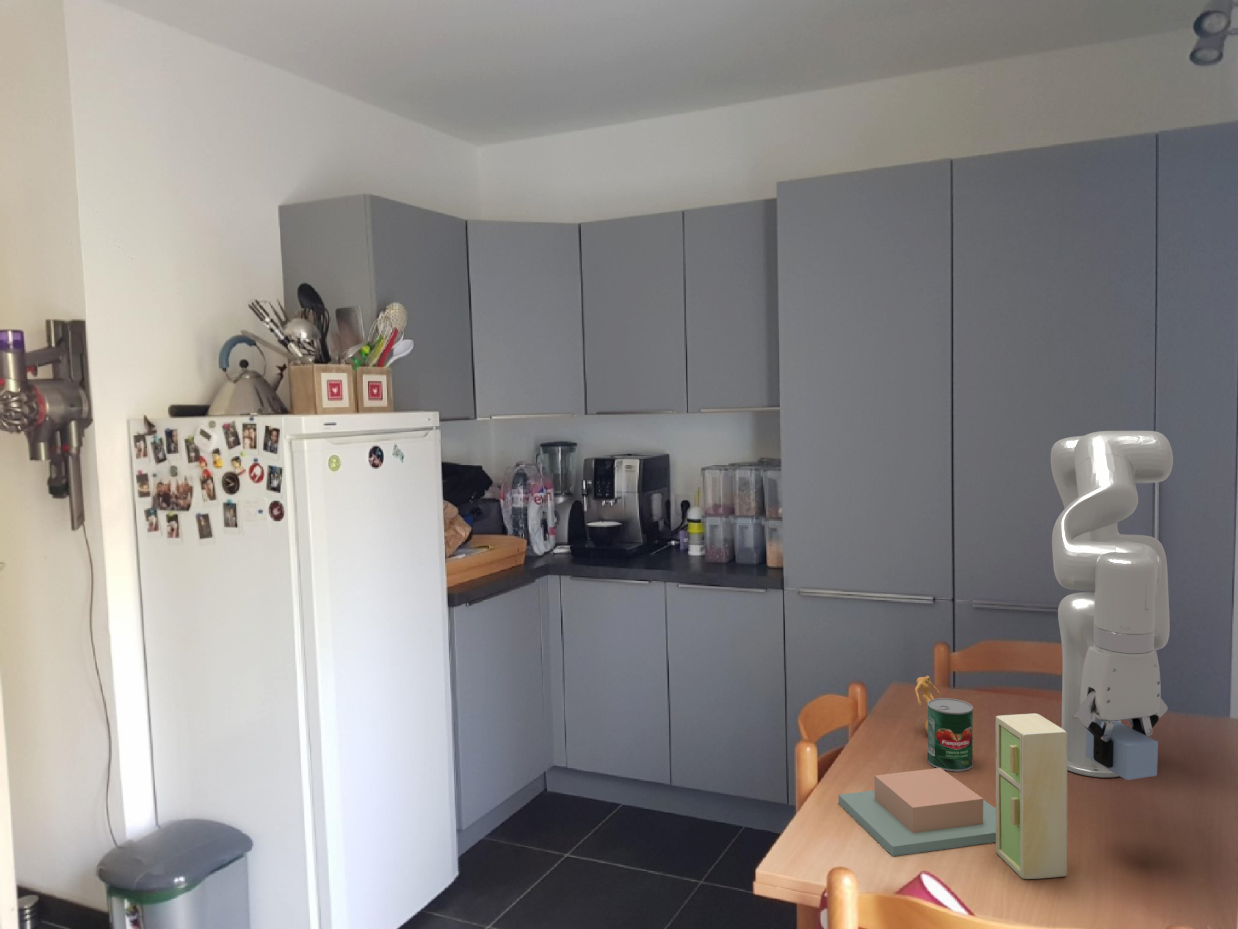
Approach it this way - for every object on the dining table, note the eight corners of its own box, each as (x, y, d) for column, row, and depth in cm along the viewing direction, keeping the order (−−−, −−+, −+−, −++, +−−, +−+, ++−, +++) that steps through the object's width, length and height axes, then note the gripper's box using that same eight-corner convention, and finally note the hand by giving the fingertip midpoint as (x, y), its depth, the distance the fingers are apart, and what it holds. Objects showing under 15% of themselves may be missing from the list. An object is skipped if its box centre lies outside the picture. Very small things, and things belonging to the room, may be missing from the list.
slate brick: (1114, 752, 135) (1115, 720, 134) (1156, 775, 127) (1158, 741, 127) (1085, 756, 134) (1086, 724, 133) (1126, 780, 126) (1127, 746, 126)
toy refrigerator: (989, 852, 134) (990, 715, 132) (1036, 849, 135) (1038, 712, 133) (1017, 881, 126) (1019, 735, 124) (1067, 877, 127) (1069, 732, 125)
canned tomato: (949, 751, 172) (950, 695, 171) (982, 766, 164) (983, 708, 164) (917, 759, 168) (918, 702, 167) (950, 775, 161) (950, 715, 160)
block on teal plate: (956, 788, 156) (956, 757, 155) (1024, 838, 138) (1024, 803, 138) (838, 803, 151) (838, 771, 151) (892, 856, 133) (892, 820, 133)
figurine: (935, 745, 175) (935, 684, 174) (906, 737, 179) (906, 678, 178) (955, 733, 180) (955, 675, 180) (927, 726, 185) (927, 668, 184)
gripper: (1153, 627, 134) (1150, 744, 136) (1053, 637, 131) (1051, 758, 133) (1195, 641, 127) (1191, 765, 129) (1090, 653, 123) (1087, 780, 125)
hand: (1120, 760), depth 131 cm, fingers closed on slate brick, 4 cm apart
